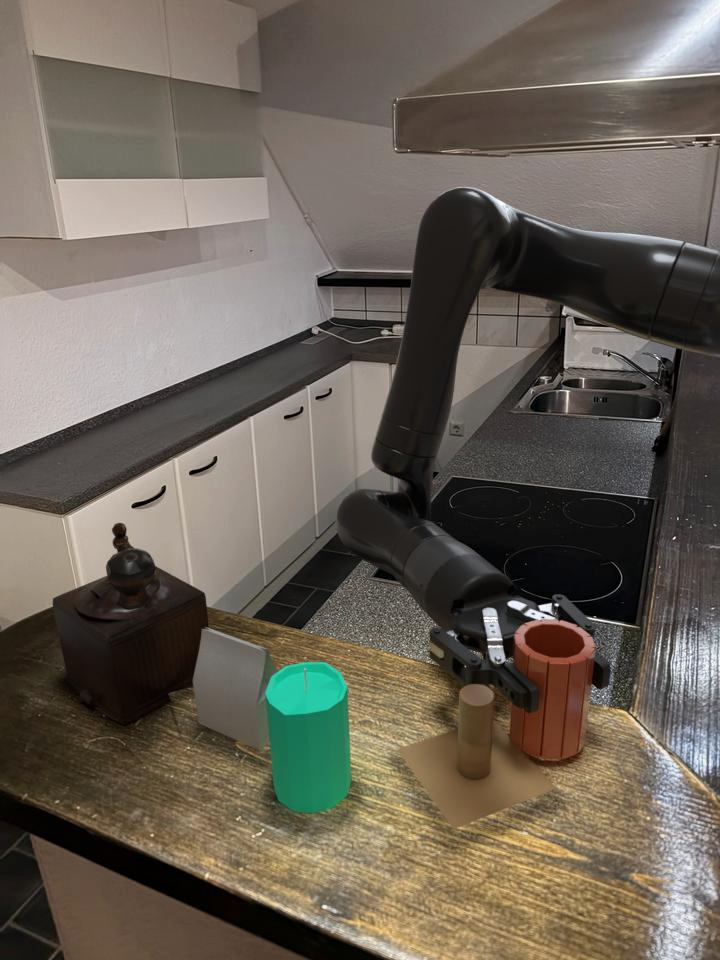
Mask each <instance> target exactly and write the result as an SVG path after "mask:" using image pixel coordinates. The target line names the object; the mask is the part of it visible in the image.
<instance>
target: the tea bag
mask: <svg viewBox="0 0 720 960" xmlns="http://www.w3.org/2000/svg"><path fill="white" fill-rule="evenodd" d="M270 653H271V652H270V650H269V648H265V647H263V646H260V645H257V644H254V643H251V642H249V641H246V640H244V639H240V638H239V637H236V636H232V635H230V634H227V633H224V632H220V631H218V630H215V629H212V628H210V627H209V628H207V627H205V629H202V634H201V642H200V648H199V653H198V658H197V663H196V667H195V672H194V677H193V693H194V694H193V695H194V701H195V708H196V716H197V723H198V724H199V725H201V726H204V727H206V728H208V729H211V730H212V731H214V732H217V733H218V734H222V735H224V736H226V737H228V738H231V739H233V740H235V741H238V742H239V743H242V744H244V745H247V746H249V747H250V748H253V749H256V750H258V751H262V750H263V749H264V748H265V747H266V746H267V745H268V744H270V742H269V731H268V720H267V709H266V698H265V693H266V690H267V687H268V684H269V681H270V679H271V677H272V676H273V675H274V674H276V673H277V672H279V670H278V669H277V667H276V666H275V663H274V661H273V659H272V656H271V654H270Z"/></svg>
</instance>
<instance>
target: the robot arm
mask: <svg viewBox="0 0 720 960" xmlns="http://www.w3.org/2000/svg"><path fill="white" fill-rule="evenodd" d="M413 256H414V257H413V262H412V273H411V279H410V280H411V281H410V287H409V295H408V301H407V307H406V313H405V319H404V324H403V330H402V336H401V342H400V346H399V350H398V355H397V358H396V363H395V367H394V371H393V375H392V379H391V382H390V386H389V390H388V393H387V396H386V400H385V404H384V407H383V410H382V413H381V416H380V420H379V424H378V426H377V429H376V433H375V436H374V441H373V444H372V448H371V453H370V459H371V462H372V464H373V466H374V467H375V468H376V469H378V470H379V472H382V473H384V474H386V475H388V476H390V477H393V478H396V479H397V481H398V486H397V489H396V491H391V490H382V489H374V488H358V489H354V490H352V491H350V492H348V493H347V494H346V495H345V496H343V498H342V499H341V500H340V502H339V503H338V505H337V508H336V511H335V520H334V521H335V528H336V532H337V535H338V537H339V539H340V541H341V542H342V544H343V545H344V547H345V548H346V549H347V550H348V551H349V552H351V553H352V554H354V555H355V556H356V557H358V558H359V559H361V560H363V561H364V562H367V563H368V564H370V565H372V566H374V567H375V568H377V569H379V570H381V571H383V572H386V573H388V574H390V575H392V576H393V577H394V579H395V580H396V581H398V583H399V584H400V585H401V586H402V587H403V588H404V589H405V590H406V591H407V592H408V593H409V594H410V596H411V597H412V599H413V600H414V601H415V603H416V604H417V606H419V608H420V609H421V610H422V611H423V612H424V613H425V614H426V615H427V616H428V617H429V618H430V619H431V620H432V621H433V622H434V623H435V624H436V625H437V626H438V627H433V628H431V629H430V630H429V655H428V656H429V658H430V659H431V660H432V661H433V662H434V663H436V664H437V665H438V666H440V668H441V669H443V670H444V671H445V672H447V673H448V674H449V675H450V676H451V677H452V678H454V679H455V680H456V681H457V682H458V683H460V684H461V685H462V686H463V687H464V686H466V685H470V684H480V685H484V686H487V685H489V687H491V688H492V689H494V690H499V691H500V693H501V694H502V695H504V696H505V698H507V700H508V701H509V702H510V701H511V703H512V704H513V705H514V706H516V707H518V708H520V709H522V708H523V709H524V710H525V711H526V712H527V713H532V712H535V711H538V709H539V698H540V692H539V689H538V687H537V686H536V685H535V684H534V683H533V682H532V681H531V680H530V679H529V678H528V677H527V676H525V675H524V674H523V673H522V672H521V671H520V670H519V669H517V668H516V667H515V665H514V664H513V663H512V661H511V662H508V663H506V662H507V659H510V658H513V642H514V634H515V632H516V631H517V630H518V629H519V627H520V626H521V625H524V623H528V622H531V621H534V620H541V619H555V620H559V621H560V620H562V621H565V622H569V623H572V624H575V625H577V626H578V627H581V628H582V629H583V630H585V631H586V632H587V633H589V634H590V635H591V637H593V640H594V641H595V635H596V634H595V633H596V628H597V627H596V626H597V625H595V623H594V622H593V621H592V620H590V618H588V617H587V616H586V615H585V614H584V613H583V612H582V611H581V610H580V609H579V608H578V607H577V606H576V605H575V604H574V603H573V602H572V601H571V600H570V599H568V597H567V596H566V595H564V594H559V593H555V594H553V595H552V597H551V602H550V603H544V604H537V603H536V602H535V601H532V600H529V599H526V598H524V597H522V596H521V594H520V593H519V591H518V589H517V587H516V586H515V584H514V583H513V581H512V580H511V579H510V578H509V577H508V576H506V574H504V573H503V572H502V571H500V570H499V569H498V568H496V567H495V566H494V565H493V564H491V563H490V562H489V561H487V560H486V559H485V558H484V557H482V556H481V555H480V554H479V553H477V552H476V551H475V550H473V549H472V548H471V547H469V546H468V545H466V544H464V543H462V542H460V541H459V540H457V539H456V538H454V537H453V536H452V535H450V534H449V533H448V532H447V531H445V530H444V529H443V528H441V527H440V526H438V525H437V524H436V523H434V522H432V492H433V480H434V479H433V477H434V466H435V464H436V463H435V462H436V459H437V456H438V453H439V450H440V447H441V445H442V441H443V438H444V435H445V432H446V429H447V425H448V422H449V418H450V413H451V410H452V405H453V399H454V393H455V384H456V375H457V365H458V359H459V357H458V356H459V352H460V347H461V342H462V339H463V335H464V332H465V329H466V326H467V323H468V320H469V317H470V314H471V311H472V309H473V307H474V305H475V302H476V300H477V298H478V296H479V294H480V292H481V290H488V291H489V290H490V291H495V292H496V291H497V292H503V293H509V294H515V295H519V296H526V297H530V298H536V299H540V300H544V301H549V302H552V303H555V304H558V305H561V306H563V307H566V308H568V309H571V310H573V311H574V312H577V313H579V314H580V315H583V316H585V317H587V318H589V319H592V320H593V321H596V322H598V323H600V324H603V325H604V326H605V325H606V326H607V327H610V328H613V329H615V330H617V331H620V332H622V333H625V334H628V335H631V336H634V337H636V338H640V339H642V340H646V341H650V342H652V343H655V344H659V345H663V346H666V347H671V348H673V349H677V350H680V351H685V352H688V353H693V354H697V355H701V356H707V357H714V358H720V250H719V249H716V248H712V247H707V246H703V245H700V244H696V243H691V242H685V241H682V240H677V239H672V238H666V237H662V236H661V237H660V236H652V235H645V234H635V233H623V232H622V233H621V232H604V231H603V232H602V231H592V230H591V231H590V230H583V229H578V228H573V227H569V226H567V225H562V224H559V223H556V222H553V221H550V220H548V219H544V218H541V217H538V216H535V215H533V214H531V213H528V212H524V211H523V210H519V209H517V208H515V207H513V206H511V205H510V204H507V203H505V202H504V201H502V200H500V199H498V198H496V197H494V196H493V195H491V194H490V193H488V192H486V191H484V190H481V189H479V188H477V187H471V186H459V187H454V188H451V189H448V190H446V191H443V193H441V194H439V195H438V196H437V197H436V198H434V199H433V200H432V201H431V203H429V205H428V206H427V207H426V208H425V211H424V212H423V214H422V216H421V218H420V222H419V226H418V230H417V236H416V241H415V247H414V255H413ZM474 652H476V653H480V654H481V656H482V658H481V657H480V656H478V655H477V654H475V653H474ZM611 669H612V668H611V662H610V661H609V660H608V658H606V657H605V656H603V655H602V654H601V653H600V652H599V651H597V650H596V649H595V658H594V667H593V676H592V686H593V687H595V688H596V689H597V690H603V689H606V688H608V687H609V686H610V679H611V672H612V671H611Z"/></svg>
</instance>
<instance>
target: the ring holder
mask: <svg viewBox="0 0 720 960" xmlns="http://www.w3.org/2000/svg"><path fill="white" fill-rule="evenodd" d="M494 711H495V693H494V692H493V690H492V689H491V688H489V686H487V685H480V684H470V685H466V686H464V685H463V687H461V689H460V690H459V692H458V719H457V720H458V721H457V722H458V725H457V728H455V729H452V730H449V731H447V732H442V733H441V734H438V735H435V736H431V737H429V738H427V739H426V738H425V739H423V740H419V741H416V742H414V743H411V744H408V745H405V746H402V747H400V748H397V752H398V753H399V754H400V756H401V757H402V759H403V760H404V761H405V763H406V764H407V766H408V767H409V769H410V770H411V772H412V773H413V774H414V775H415V777H416V778H417V780H418V782H419V783H420V784H421V785H422V787H423V789H424V790H425V791H426V793H427V794H428V796H429V797H430V799H431V800H432V801H433V802H434V804H435V806H436V807H437V808H438V809H439V811H440V812H441V814H442V815H443V817H444V818H445V820H446V821H447V823H448V824H449V826H450V827H451V828H452V830H455V829H458V828H461V827H463V826H466V825H469V824H470V823H474V822H475V821H478V820H480V819H483V818H486V817H488V816H492V815H493V814H496V813H498V812H501V811H504V810H506V809H509V808H511V807H514V806H516V805H518V804H521V803H523V802H526V801H529V800H531V799H534V798H536V797H539V796H541V795H544V794H546V793H549V792H551V791H554V790H556V789H557V787H556V786H555V785H554V783H552V782H551V780H550V779H549V778H548V777H547V776H546V775H545V774H544V773H543V772H542V771H541V770H540V768H538V766H537V765H536V764H535V763H534V762H533V761H532V760H531V758H529V756H528V755H526V753H525V752H523V749H519V747H518V746H517V745H516V744H515V743H514V742H513V741H512V740H511V737H510V736H509V734H508V733H506V732H505V731H504V730H503V728H502V727H501V726H500V725H499V724H498V723H497V722H496V721H495V720H494Z"/></svg>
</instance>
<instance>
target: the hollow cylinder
mask: <svg viewBox="0 0 720 960" xmlns="http://www.w3.org/2000/svg"><path fill="white" fill-rule="evenodd" d="M595 650H596V644H595V639H594V640H593V637H591V635H590V634H589V633H587V632H586V631H585V630H583V629H582V628H581V627H578V626H577V625H575V624H572V623H569V622H565V621H562V620H560V621H559V620H555V619H541V620H534V621H531V622H528V623H524V625H521V626H520V627H519V629H518V630H517V631H516V632H515V634H514V642H513V656H512V657H511V658H512V659H511V660H512V661H511V662H512V663H513V664H514V665H515V667H516V668H517V669H519V670H520V671H521V672H522V673H523V674H524V675H525V676H527V677H528V678H529V679H530V680H531V681H532V682H533V683H534V684H535V685H536V686H537V687H538V689H539V692H540V698H539V709H538V711H535V712H532V713H527V712H526V711H525V710H524V709H523V708H522V709H520V708H518V707H516V706H514V705H513V704H512V703H511V701H510V700H509V708H508V724H507V726H508V736H509V737H510V738H511V740H512V741H513V742H514V743H515V744H516V745H517V746H518V747H519V749H521V750H522V751H523V752H524V754H528V755H529V756H532V757H535V758H536V759H540V758H541V760H553V761H560V760H565V759H568V758H570V757H573V756H575V755H577V754H579V753H580V752H581V750H582V748H583V747H584V745H585V744H586V738H587V731H588V721H589V720H588V719H589V710H590V703H591V702H590V701H591V694H592V686H593V684H592V676H593V667H594V658H595Z"/></svg>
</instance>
